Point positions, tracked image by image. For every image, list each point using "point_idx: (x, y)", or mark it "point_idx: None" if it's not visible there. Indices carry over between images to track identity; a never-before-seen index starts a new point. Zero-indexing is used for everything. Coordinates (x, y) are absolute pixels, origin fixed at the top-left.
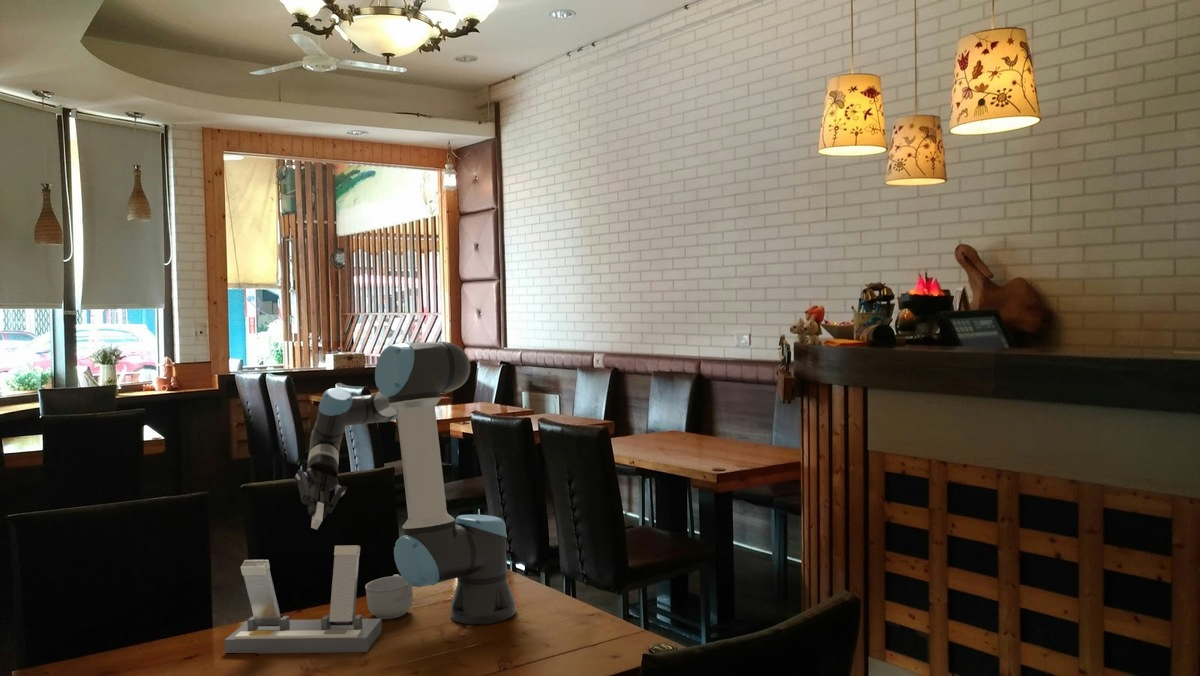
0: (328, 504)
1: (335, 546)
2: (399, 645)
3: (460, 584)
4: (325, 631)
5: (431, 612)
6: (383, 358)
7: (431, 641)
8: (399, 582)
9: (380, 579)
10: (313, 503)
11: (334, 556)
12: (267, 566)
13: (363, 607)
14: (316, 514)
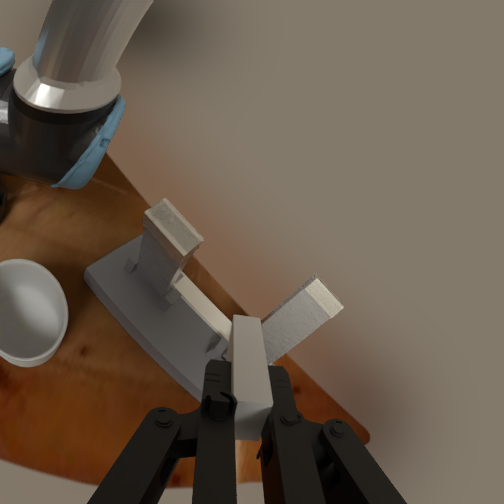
0: (191, 432)
1: (202, 238)
2: (100, 225)
3: None
4: (180, 277)
5: None
6: None
7: (70, 203)
8: None
9: (10, 354)
10: (288, 406)
11: (194, 251)
12: (310, 281)
13: (35, 413)
14: (262, 337)
